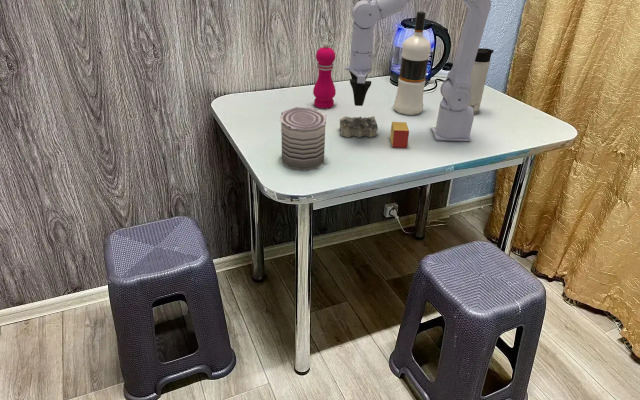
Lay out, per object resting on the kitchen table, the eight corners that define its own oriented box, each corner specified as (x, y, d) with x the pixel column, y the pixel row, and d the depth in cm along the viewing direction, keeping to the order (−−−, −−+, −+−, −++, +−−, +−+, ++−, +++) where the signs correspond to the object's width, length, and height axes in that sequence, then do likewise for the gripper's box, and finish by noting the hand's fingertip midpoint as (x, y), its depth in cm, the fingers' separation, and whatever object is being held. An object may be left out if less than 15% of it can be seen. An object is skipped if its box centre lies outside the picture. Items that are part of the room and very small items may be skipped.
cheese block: (404, 138, 134) (406, 122, 131) (406, 147, 129) (409, 131, 126) (389, 138, 134) (391, 121, 131) (392, 147, 129) (394, 130, 126)
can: (324, 149, 126) (325, 107, 120) (326, 170, 117) (327, 126, 110) (281, 149, 126) (280, 107, 119) (279, 170, 116) (279, 125, 110)
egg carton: (340, 137, 133) (340, 124, 131) (338, 126, 139) (339, 113, 137) (377, 138, 133) (379, 124, 131) (374, 127, 140) (375, 114, 137)
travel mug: (475, 116, 149) (489, 52, 138) (455, 111, 152) (467, 48, 141) (482, 110, 153) (496, 48, 142) (463, 105, 156) (475, 44, 145)
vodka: (391, 114, 148) (404, 13, 132) (394, 103, 156) (406, 7, 140) (421, 117, 147) (437, 16, 131) (422, 106, 155) (438, 9, 138)
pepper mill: (335, 109, 150) (338, 45, 139) (312, 108, 150) (313, 45, 139) (335, 101, 156) (337, 39, 145) (313, 100, 156) (314, 38, 145)
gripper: (346, 42, 129) (343, 90, 137) (346, 58, 117) (343, 109, 124) (371, 43, 129) (367, 91, 137) (375, 59, 117) (370, 110, 124)
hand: (358, 100), depth 131 cm, fingers open, 7 cm apart
